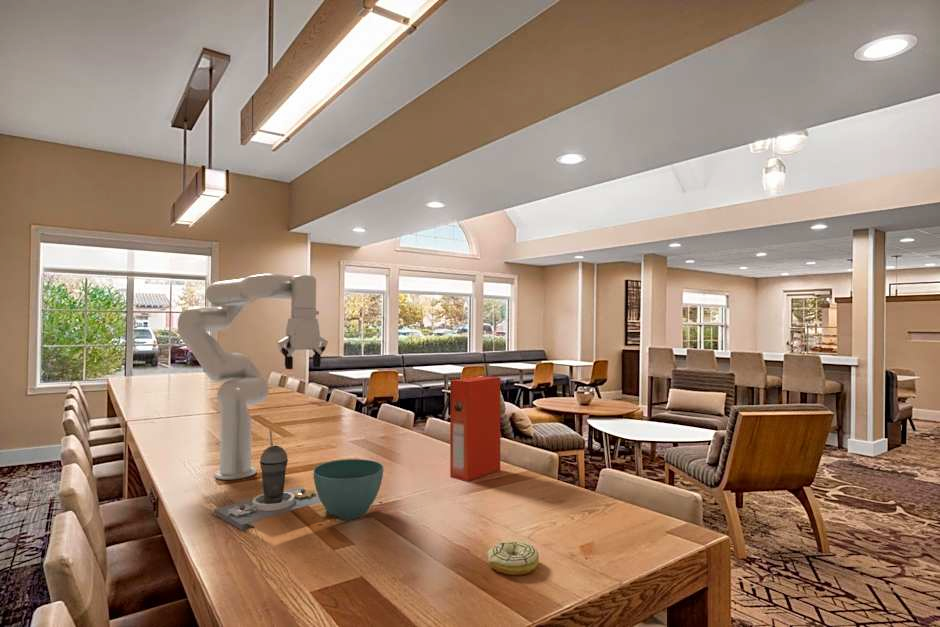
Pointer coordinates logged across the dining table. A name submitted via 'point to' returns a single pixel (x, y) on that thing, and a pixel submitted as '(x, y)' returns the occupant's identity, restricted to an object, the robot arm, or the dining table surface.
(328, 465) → the plant pot
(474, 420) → the file binder
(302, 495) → the gear
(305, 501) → the gear board
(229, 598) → the dining table surface
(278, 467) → the beverage cup
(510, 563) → the decorated donut
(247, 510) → the gear
